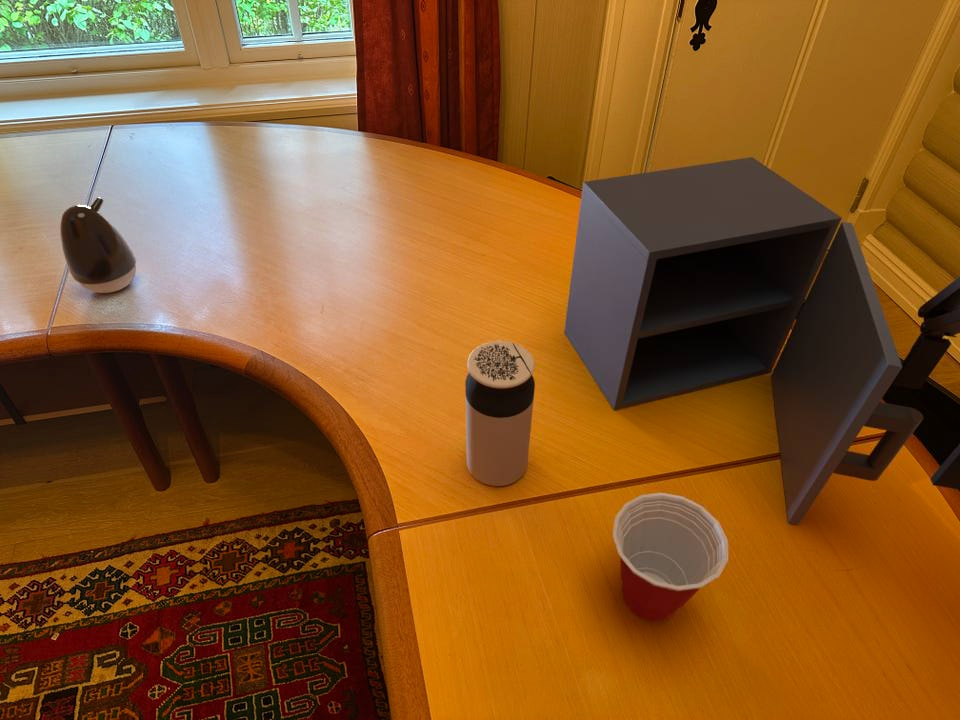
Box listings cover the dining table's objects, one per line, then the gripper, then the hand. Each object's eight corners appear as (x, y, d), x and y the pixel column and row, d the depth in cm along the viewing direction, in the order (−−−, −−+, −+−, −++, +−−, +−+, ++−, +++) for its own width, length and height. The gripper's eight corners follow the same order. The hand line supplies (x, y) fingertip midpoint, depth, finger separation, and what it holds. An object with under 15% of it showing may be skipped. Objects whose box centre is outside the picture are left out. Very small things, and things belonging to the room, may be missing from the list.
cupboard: (771, 372, 92) (842, 217, 74) (613, 410, 86) (649, 252, 68) (705, 303, 104) (752, 156, 87) (563, 332, 99) (583, 181, 81)
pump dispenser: (156, 272, 111) (123, 196, 101) (117, 305, 103) (77, 227, 93) (110, 263, 113) (73, 188, 103) (68, 295, 106) (23, 218, 95)
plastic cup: (639, 532, 72) (660, 470, 64) (718, 599, 66) (752, 541, 58) (576, 588, 67) (590, 529, 58) (655, 667, 61) (683, 613, 52)
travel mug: (472, 492, 76) (472, 392, 64) (461, 443, 82) (459, 343, 69) (534, 482, 77) (545, 382, 65) (519, 435, 83) (526, 334, 70)
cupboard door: (821, 384, 90) (906, 229, 72) (852, 537, 71) (977, 379, 53) (770, 375, 91) (841, 221, 74) (787, 522, 73) (888, 364, 55)
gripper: (953, 175, 57) (856, 346, 71) (1088, 345, 39) (922, 528, 53) (1043, 184, 55) (926, 356, 70) (1226, 363, 37) (1018, 546, 52)
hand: (924, 431), depth 61 cm, fingers open, 13 cm apart
